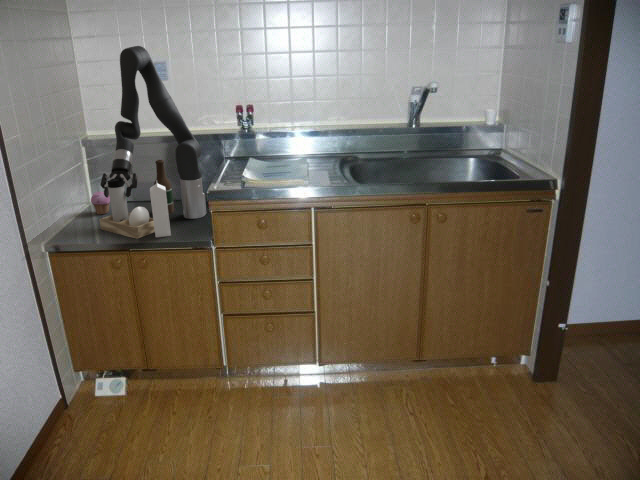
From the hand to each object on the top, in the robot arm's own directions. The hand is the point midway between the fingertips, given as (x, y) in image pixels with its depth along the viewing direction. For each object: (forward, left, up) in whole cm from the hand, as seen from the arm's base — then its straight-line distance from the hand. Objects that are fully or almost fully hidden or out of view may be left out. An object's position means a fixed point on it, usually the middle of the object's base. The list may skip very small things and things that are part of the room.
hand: (116, 196), depth 223 cm
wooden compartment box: (-1, +5, -14) cm, 15 cm away
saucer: (-1, +11, -12) cm, 17 cm away
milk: (-4, +21, -14) cm, 25 cm away
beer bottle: (-25, 0, -14) cm, 28 cm away
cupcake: (-10, -24, -14) cm, 29 cm away
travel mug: (-1, 0, -13) cm, 13 cm away
